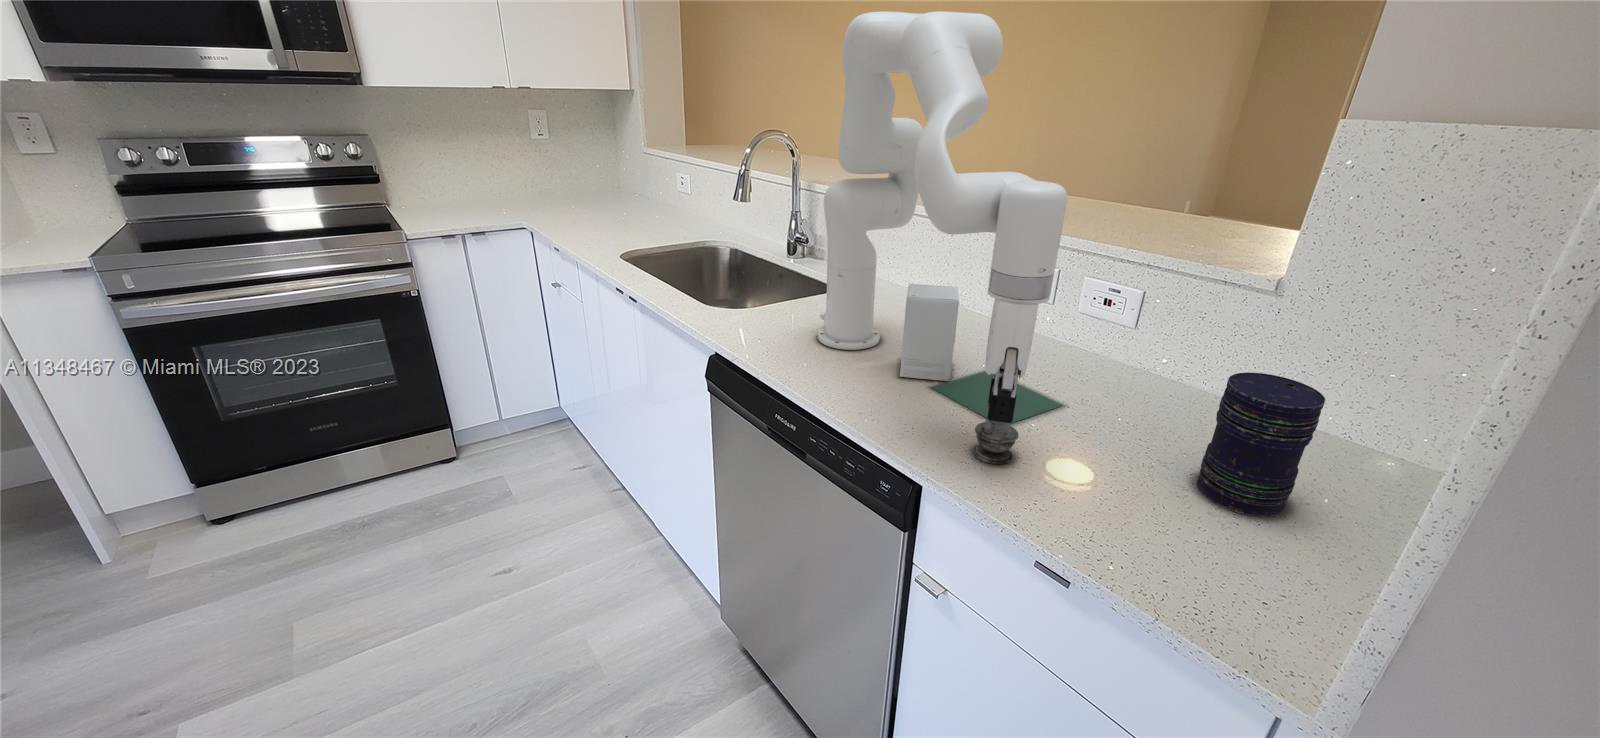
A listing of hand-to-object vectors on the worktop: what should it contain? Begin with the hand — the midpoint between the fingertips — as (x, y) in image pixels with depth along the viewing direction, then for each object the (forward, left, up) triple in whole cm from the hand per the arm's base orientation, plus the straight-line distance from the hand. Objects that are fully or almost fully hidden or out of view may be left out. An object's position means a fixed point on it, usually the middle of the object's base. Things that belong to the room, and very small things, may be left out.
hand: (999, 412), depth 88 cm
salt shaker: (0, 0, -7) cm, 7 cm away
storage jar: (+23, +20, -7) cm, 31 cm away
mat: (-13, +14, -7) cm, 21 cm away
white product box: (-27, +11, -7) cm, 30 cm away
